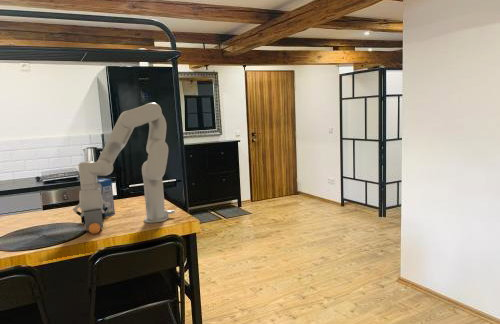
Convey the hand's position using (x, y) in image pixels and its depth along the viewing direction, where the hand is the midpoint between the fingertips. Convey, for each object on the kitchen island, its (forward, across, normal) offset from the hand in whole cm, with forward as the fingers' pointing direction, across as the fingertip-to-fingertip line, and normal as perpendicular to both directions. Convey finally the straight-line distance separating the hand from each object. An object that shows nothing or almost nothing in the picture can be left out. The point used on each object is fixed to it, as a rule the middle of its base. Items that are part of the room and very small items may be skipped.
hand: (93, 222), depth 177 cm
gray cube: (+2, 0, 0) cm, 2 cm away
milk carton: (+4, -7, -29) cm, 30 cm away
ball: (+1, 0, +6) cm, 6 cm away
